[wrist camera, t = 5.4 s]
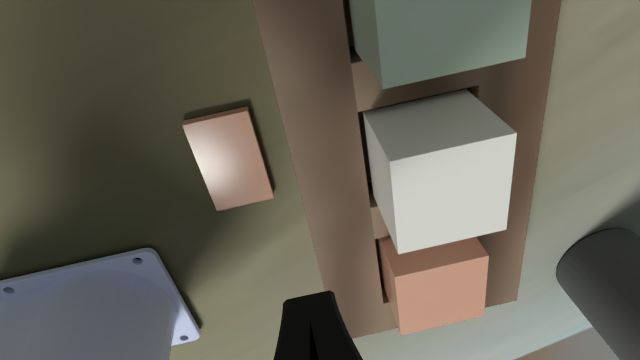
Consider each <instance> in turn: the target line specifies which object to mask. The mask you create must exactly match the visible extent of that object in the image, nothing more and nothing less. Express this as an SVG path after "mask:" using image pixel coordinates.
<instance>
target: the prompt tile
mask: <svg viewBox="0 0 640 360" xmlns="http://www.w3.org/2000/svg"><path fill="white" fill-rule="evenodd" d="M182 127H183V129H184V132H185V134H186V137H187V139H188V141H189V144H190V146H191V149H192V151H193V154H194V156H195V159H196V161H197V163H198V166H199V168H200V171H201V173H202V176H203V178H204V181H205V183H206V185H207V188H208V190H209V193H210V195H211V198H212V200H213V203H214V205H215V207H216V210H217V211H220V210H224V209H228V208H233V207H237V206H242V205H246V204H250V203H255V202H259V201H264V200H268V199H273V198H274V192H273V189H272V186H271V182H270V179H269V176H268V172H267V169H266V166H265V162H264V159H263V156H262V152H261V149H260V146H259V142H258V139H257V135H256V132H255V129H254V125H253V122H252V119H251V115H250V112H249V109H248V106H247V107H243V108H238V109H234V110H229V111H225V112H220V113H216V114H211V115H207V116H202V117H198V118H193V119H189V120H184V121H183V124H182Z"/></svg>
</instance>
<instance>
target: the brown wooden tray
mask: <svg viewBox="0 0 640 360" xmlns="http://www.w3.org/2000/svg"><path fill="white" fill-rule="evenodd" d="M252 3H253V7H254V11H255V15H256V19H257V23H258V27H259V31H260V35H261V39H262V43H263V46H264V50H265V54H266V58H267V62H268V66H269V70H270V74H271V78H272V82H273V86H274V90H275V94H276V98H277V102H278V106H279V110H280V114H281V118H282V122H283V126H284V130H285V134H286V138H287V142H288V145H289V149H290V153H291V157H292V161H293V165H294V169H295V173H296V177H297V181H298V185H299V189H300V193H301V197H302V201H303V205H304V209H305V213H306V217H307V221H308V225H309V229H310V233H311V237H312V241H313V244H314V248H315V252H316V256H317V260H318V264H319V268H320V272H321V276H322V280H323V284H324V288H325V291H329V290H330V291H332V292H334V294H335V298H336V302H337V305H338V308H339V311H340V314H341V316H342V319H343V321H344V323H345V326H346V328H347V330H348V332H349V334H350V336H351V338H356V337H361V336H365V335H369V334H374V333H378V332H382V331H386V330H391V329H395V328H398V326H397V323H396V320H395V317H394V314H393V311H392V309H391V306H390V303H389V300H388V297H387V294H386V291H385V288H384V286H383V283H382V280H381V276H380V269H379V261H378V254H377V246H376V239H378V238H382V237H387V236H390V234H389V231H388V229H387V226H386V224H385V222H384V219H383V217H382V214H381V212H380V210H379V207H378V205H377V203H376V200H375V198H374V195H373V187H372V179H371V172H370V164H369V156H368V148H367V140H366V132H365V124H364V116H363V112H365V111H370V110H374V109H379V108H383V107H388V106H392V105H397V104H401V103H406V102H410V101H415V100H419V99H424V98H428V97H433V96H437V95H442V94H446V93H451V92H455V91H459V90H464V89H467V90H468V91H469V92H470V93H471V94H472V95H474V96H475V97H476V98H477V99H478V100H479V101H481V102H482V103H483V104H484V105H485V106H486V107H488V108H489V109H490V110H491V111H492V112H493V113H494V114H496V115H497V116H498V117H499V118H500V119H501V120H503V121H504V122H505V123H506V124H507V125H508V126H510V127H511V128H512V129H513V130H514V131H515V132H517V138H516V147H515V156H514V165H513V174H512V183H511V192H510V201H509V210H508V219H507V228H506V230H503V231H498V232H494V233H490V234H485V235H481V236H476V237H477V239H478V240H479V242H480V243H481V245H482V246H483V248H484V249H485V251H486V252H487V254H488V255H489V261H488V273H487V285H486V297H485V307H490V306H494V305H498V304H503V303H507V302H511V301H516V300H517V295H518V288H519V281H520V275H521V268H522V261H523V254H524V248H525V241H526V234H527V228H528V221H529V214H530V207H531V201H532V194H533V187H534V180H535V174H536V167H537V160H538V154H539V147H540V140H541V133H542V127H543V120H544V113H545V106H546V100H547V93H548V86H549V80H550V73H551V66H552V59H553V53H554V46H555V39H556V33H557V26H558V19H559V12H560V6H561V0H532V2H531V11H530V20H529V29H528V38H527V47H526V56H525V58H521V59H517V60H512V61H508V62H504V63H499V64H495V65H490V66H486V67H481V68H477V69H472V70H468V71H463V72H459V73H454V74H450V75H445V76H441V77H436V78H432V79H427V80H423V81H418V82H414V83H409V84H405V85H400V86H396V87H391V88H387V89H382V87H381V86H380V85H379V83H378V82H377V80H376V79H375V78H374V76H373V75H372V73H371V72H370V71H369V69H368V68H367V66H366V65H365V63H364V62H363V61H362V59H361V58H360V56H359V55H358V54H357V52H356V51H355V45H354V38H353V30H352V22H351V14H350V6H349V0H252Z"/></svg>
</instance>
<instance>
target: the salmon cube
mask: <svg viewBox="0 0 640 360" xmlns="http://www.w3.org/2000/svg"><path fill="white" fill-rule="evenodd" d="M376 246H377V254H378V261H379V269H380V276H381V280H382V283H383V286H384V288H385V291H386V294H387V297H388V300H389V303H390V306H391V309H392V311H393V314H394V317H395V320H396V323H397V326H398V329H399V332H400V334H401V335H404V334H408V333H412V332H417V331H421V330H425V329H429V328H434V327H438V326H442V325H447V324H451V323H455V322H460V321H464V320H468V319H472V318H477V317H481V316H484V309H485V297H486V285H487V273H488V261H489V255H488V254H487V252H486V251H485V249H484V248H483V246H482V245H481V243H480V242H479V240H478V239H477V237H472V238H468V239H463V240H459V241H455V242H450V243H446V244H442V245H437V246H433V247H429V248H424V249H420V250H415V251H411V252H407V253H402V254H398V253H397V250H396V248H395V245H394V243H393V241H392V238H391V236H387V237H382V238H378V239H376Z"/></svg>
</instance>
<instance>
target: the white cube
mask: <svg viewBox="0 0 640 360" xmlns="http://www.w3.org/2000/svg"><path fill="white" fill-rule="evenodd" d="M363 116H364V124H365V132H366V140H367V148H368V156H369V164H370V172H371V179H372V187H373V195H374V198H375V200H376V203H377V205H378V207H379V210H380V212H381V214H382V217H383V219H384V222H385V224H386V226H387V229H388V231H389V234H390V236H391V238H392V241H393V243H394V245H395V248H396V250H397V253H398V254H402V253H407V252H411V251H415V250H420V249H424V248H429V247H433V246H437V245H442V244H446V243H450V242H455V241H459V240H463V239H468V238H472V237H476V236H481V235H485V234H490V233H494V232H498V231H503V230H506V228H507V219H508V210H509V201H510V192H511V183H512V174H513V165H514V156H515V147H516V138H517V132H515V131H514V130H513V129H512V128H511V127H510V126H508V125H507V124H506V123H505V122H504V121H503V120H501V119H500V118H499V117H498V116H497V115H496V114H494V113H493V112H492V111H491V110H490V109H489V108H488V107H486V106H485V105H484V104H483V103H482V102H481V101H479V100H478V99H477V98H476V97H475V96H474V95H472V94H471V93H470V92H469V91H468V90H467V89H464V90H459V91H455V92H451V93H446V94H442V95H437V96H433V97H428V98H424V99H419V100H415V101H410V102H406V103H401V104H397V105H392V106H388V107H383V108H379V109H374V110H370V111H365V112H363Z"/></svg>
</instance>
